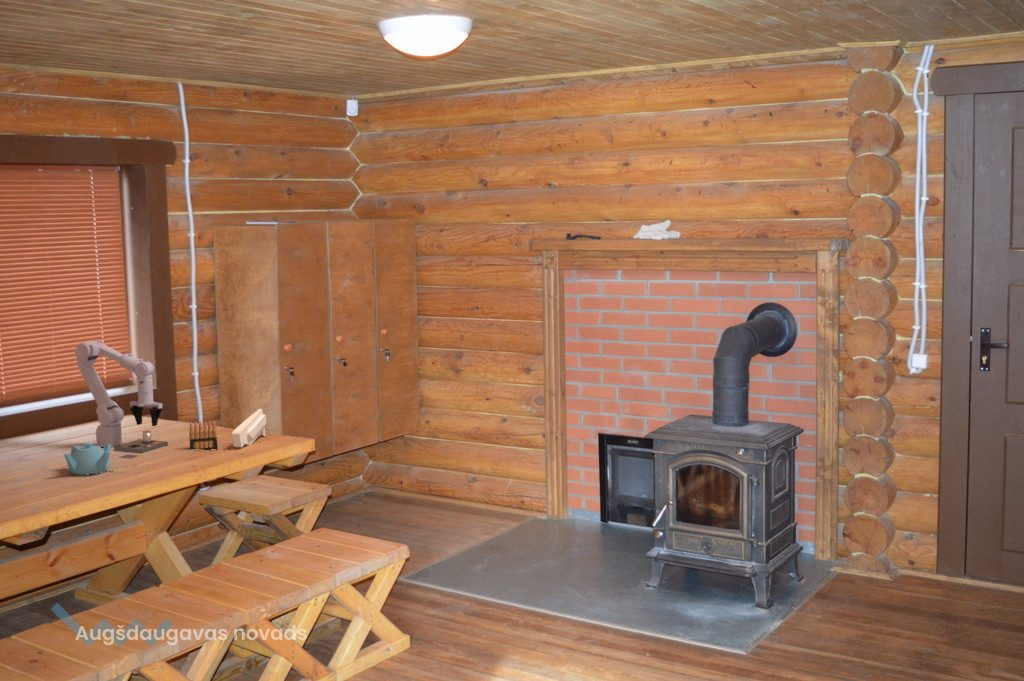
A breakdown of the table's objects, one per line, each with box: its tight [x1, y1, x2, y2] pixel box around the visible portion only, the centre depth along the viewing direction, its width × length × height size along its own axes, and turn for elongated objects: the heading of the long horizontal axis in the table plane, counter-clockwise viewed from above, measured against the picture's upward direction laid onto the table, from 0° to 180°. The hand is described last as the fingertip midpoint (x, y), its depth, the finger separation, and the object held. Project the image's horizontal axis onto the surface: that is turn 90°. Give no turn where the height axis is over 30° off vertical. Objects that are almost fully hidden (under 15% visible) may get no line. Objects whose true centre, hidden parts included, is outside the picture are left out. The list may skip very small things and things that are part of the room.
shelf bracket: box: [231, 408, 267, 448], centre depth 433 cm, size 6×25×13 cm, turn 170°
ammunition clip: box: [189, 420, 218, 451], centre depth 419 cm, size 11×2×12 cm, turn 112°
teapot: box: [63, 442, 112, 476], centre depth 386 cm, size 15×15×11 cm
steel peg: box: [142, 429, 152, 444], centre depth 424 cm, size 3×3×7 cm
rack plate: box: [113, 438, 169, 454], centre depth 421 cm, size 14×15×3 cm
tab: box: [118, 454, 139, 459], centre depth 406 cm, size 6×5×1 cm
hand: (147, 425), depth 424 cm, fingers open, 7 cm apart
